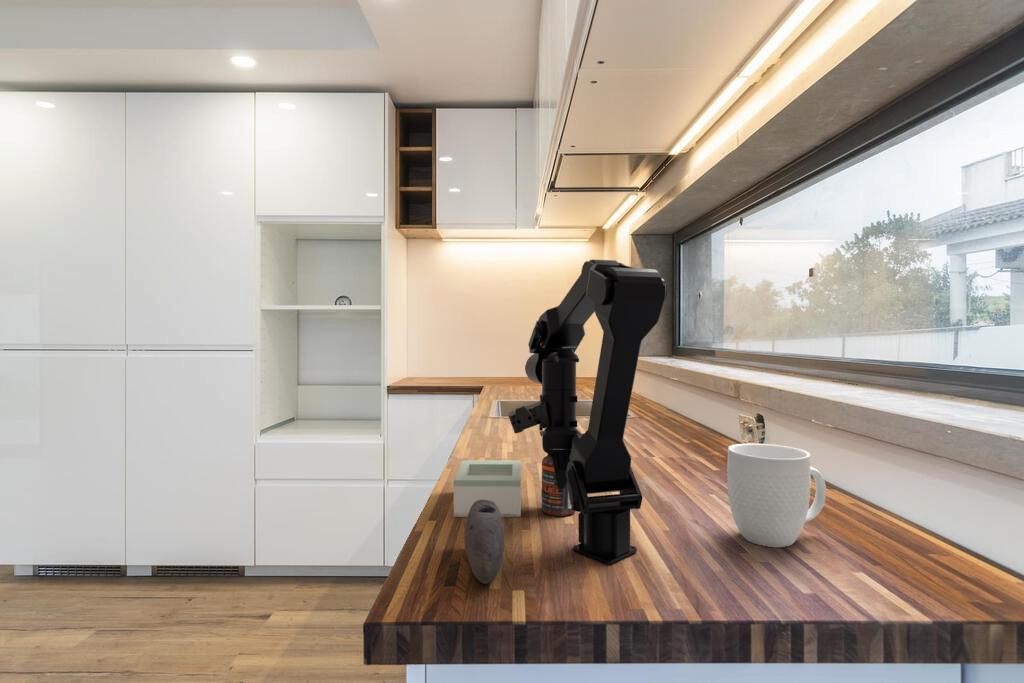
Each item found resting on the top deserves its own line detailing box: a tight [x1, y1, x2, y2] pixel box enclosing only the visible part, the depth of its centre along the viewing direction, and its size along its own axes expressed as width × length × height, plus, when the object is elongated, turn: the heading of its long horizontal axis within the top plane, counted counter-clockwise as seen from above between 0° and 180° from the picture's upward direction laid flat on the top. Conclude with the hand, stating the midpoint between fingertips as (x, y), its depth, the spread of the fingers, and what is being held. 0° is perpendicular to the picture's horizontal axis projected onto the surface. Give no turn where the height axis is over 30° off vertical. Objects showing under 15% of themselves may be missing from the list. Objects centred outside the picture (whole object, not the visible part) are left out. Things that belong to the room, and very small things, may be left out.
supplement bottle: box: [540, 454, 576, 517], centre depth 92 cm, size 6×6×11 cm
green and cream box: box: [453, 459, 522, 518], centre depth 96 cm, size 11×14×6 cm
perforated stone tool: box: [464, 500, 505, 585], centre depth 70 cm, size 15×5×7 cm, turn 2°
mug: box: [726, 442, 827, 548], centre depth 80 cm, size 15×11×13 cm
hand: (558, 480), depth 92 cm, fingers open, 9 cm apart
